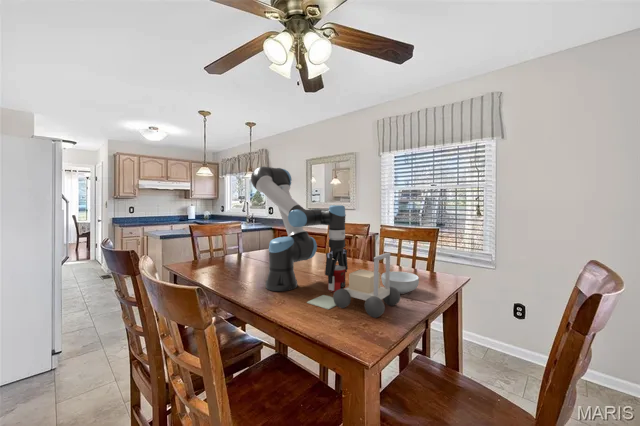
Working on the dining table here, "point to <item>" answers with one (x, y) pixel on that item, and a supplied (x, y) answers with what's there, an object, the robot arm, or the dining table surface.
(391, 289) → the trolley
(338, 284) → the canned food
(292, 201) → the robot arm
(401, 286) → the cereal bowl
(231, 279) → the dining table surface
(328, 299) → the mat
